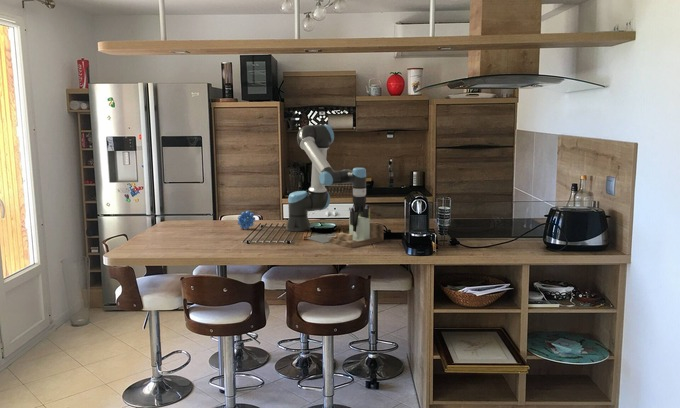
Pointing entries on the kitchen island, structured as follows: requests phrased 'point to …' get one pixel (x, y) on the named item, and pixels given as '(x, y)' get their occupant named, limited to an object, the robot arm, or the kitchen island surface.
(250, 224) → the blue knobby thick disc
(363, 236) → the tall block
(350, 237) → the offcut short
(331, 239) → the rack
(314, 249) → the kitchen island surface
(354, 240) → the block
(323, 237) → the mat
